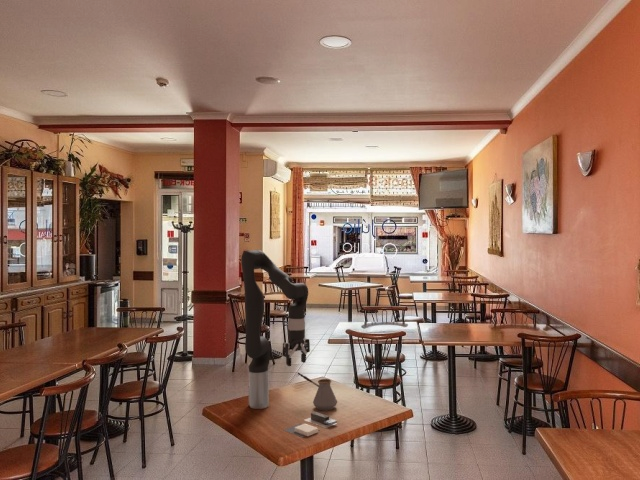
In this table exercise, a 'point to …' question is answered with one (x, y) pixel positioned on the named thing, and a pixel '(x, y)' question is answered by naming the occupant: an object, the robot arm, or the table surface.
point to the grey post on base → (322, 418)
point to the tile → (306, 429)
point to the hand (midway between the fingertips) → (296, 364)
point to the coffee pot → (323, 394)
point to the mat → (292, 430)
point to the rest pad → (319, 423)
